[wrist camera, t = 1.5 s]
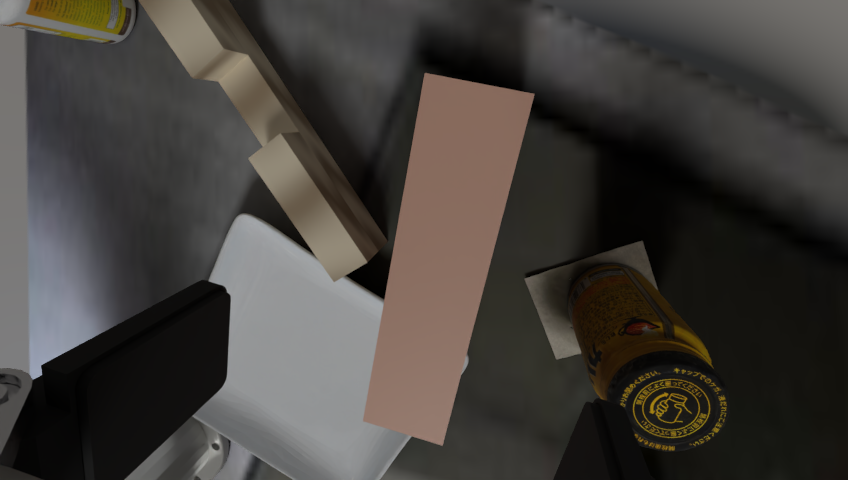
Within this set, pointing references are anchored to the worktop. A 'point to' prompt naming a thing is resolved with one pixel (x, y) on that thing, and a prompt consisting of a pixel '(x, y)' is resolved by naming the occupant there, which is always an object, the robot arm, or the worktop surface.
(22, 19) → the supplement bottle
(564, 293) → the condiment
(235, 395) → the salad plate
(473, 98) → the pink rectangular slab
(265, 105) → the birch rail
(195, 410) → the robot arm
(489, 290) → the worktop surface
